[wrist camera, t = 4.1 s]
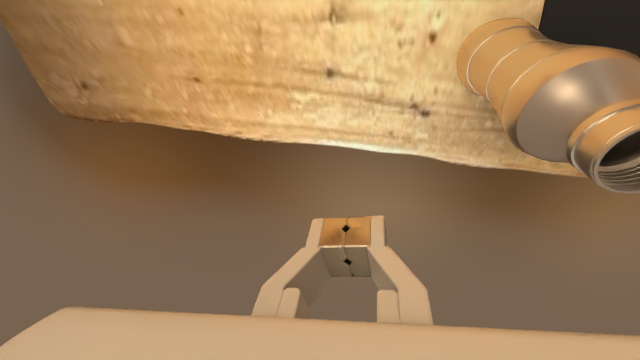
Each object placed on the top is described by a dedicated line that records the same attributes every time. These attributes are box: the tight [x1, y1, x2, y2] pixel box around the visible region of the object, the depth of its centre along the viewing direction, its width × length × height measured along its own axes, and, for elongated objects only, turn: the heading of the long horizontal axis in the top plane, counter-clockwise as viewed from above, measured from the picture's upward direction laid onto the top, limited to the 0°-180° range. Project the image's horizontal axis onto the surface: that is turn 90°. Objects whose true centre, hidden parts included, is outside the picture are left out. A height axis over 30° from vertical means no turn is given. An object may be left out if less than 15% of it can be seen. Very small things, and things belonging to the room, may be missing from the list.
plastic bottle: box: [457, 18, 640, 194], centre depth 19 cm, size 6×7×20 cm
